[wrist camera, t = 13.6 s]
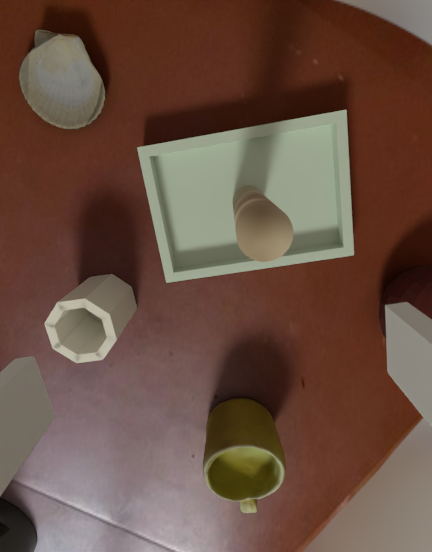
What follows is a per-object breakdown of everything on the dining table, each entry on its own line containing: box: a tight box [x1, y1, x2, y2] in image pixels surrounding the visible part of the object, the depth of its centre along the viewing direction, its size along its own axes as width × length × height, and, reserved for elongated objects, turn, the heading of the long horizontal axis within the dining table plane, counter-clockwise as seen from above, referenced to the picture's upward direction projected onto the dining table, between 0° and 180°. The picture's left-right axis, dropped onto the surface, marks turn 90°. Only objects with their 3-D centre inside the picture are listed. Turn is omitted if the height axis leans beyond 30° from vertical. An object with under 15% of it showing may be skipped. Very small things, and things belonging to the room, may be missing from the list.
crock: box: [44, 274, 137, 363], centre depth 38 cm, size 7×7×8 cm
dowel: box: [232, 186, 293, 262], centre depth 28 cm, size 3×3×18 cm
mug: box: [203, 398, 286, 513], centre depth 43 cm, size 12×10×10 cm
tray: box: [137, 110, 354, 283], centre depth 37 cm, size 20×14×2 cm
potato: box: [379, 266, 432, 338], centre depth 38 cm, size 7×10×6 cm
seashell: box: [19, 30, 105, 129], centre depth 34 cm, size 8×3×8 cm
